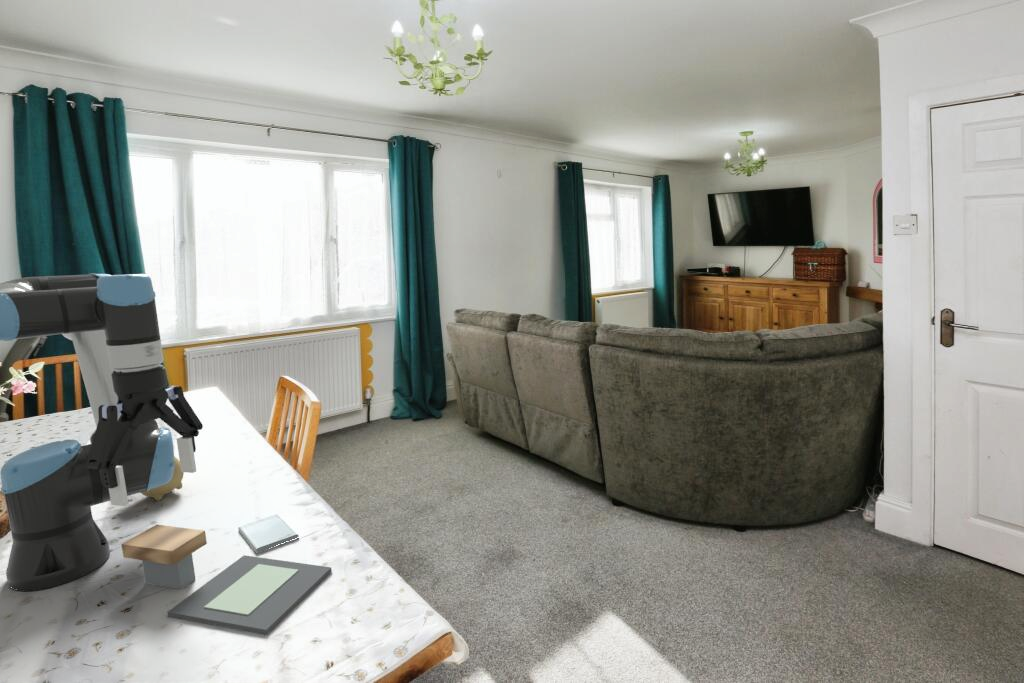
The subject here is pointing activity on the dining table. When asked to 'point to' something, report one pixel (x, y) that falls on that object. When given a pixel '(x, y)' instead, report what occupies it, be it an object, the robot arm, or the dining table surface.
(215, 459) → the dining table surface
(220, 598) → the mat
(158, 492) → the toy pig
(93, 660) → the dining table surface
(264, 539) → the hard drive
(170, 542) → the card box
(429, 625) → the dining table surface
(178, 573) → the stand
